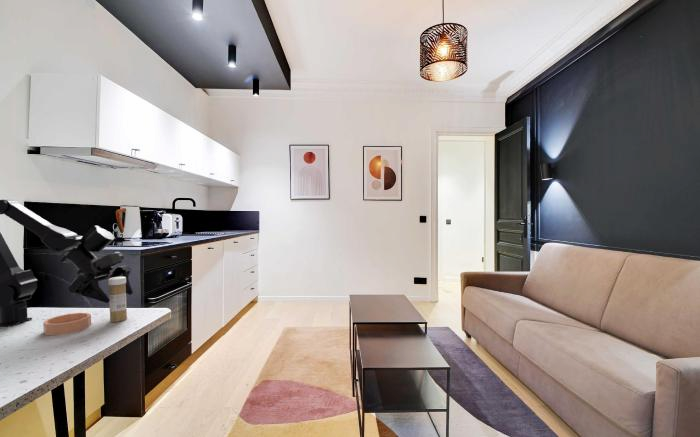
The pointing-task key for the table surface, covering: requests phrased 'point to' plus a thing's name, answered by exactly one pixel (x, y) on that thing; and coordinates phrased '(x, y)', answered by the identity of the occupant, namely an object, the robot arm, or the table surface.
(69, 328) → the terracotta bowl
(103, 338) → the table surface
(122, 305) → the sprinkles bottle
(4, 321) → the robot arm
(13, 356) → the table surface
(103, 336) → the table surface
